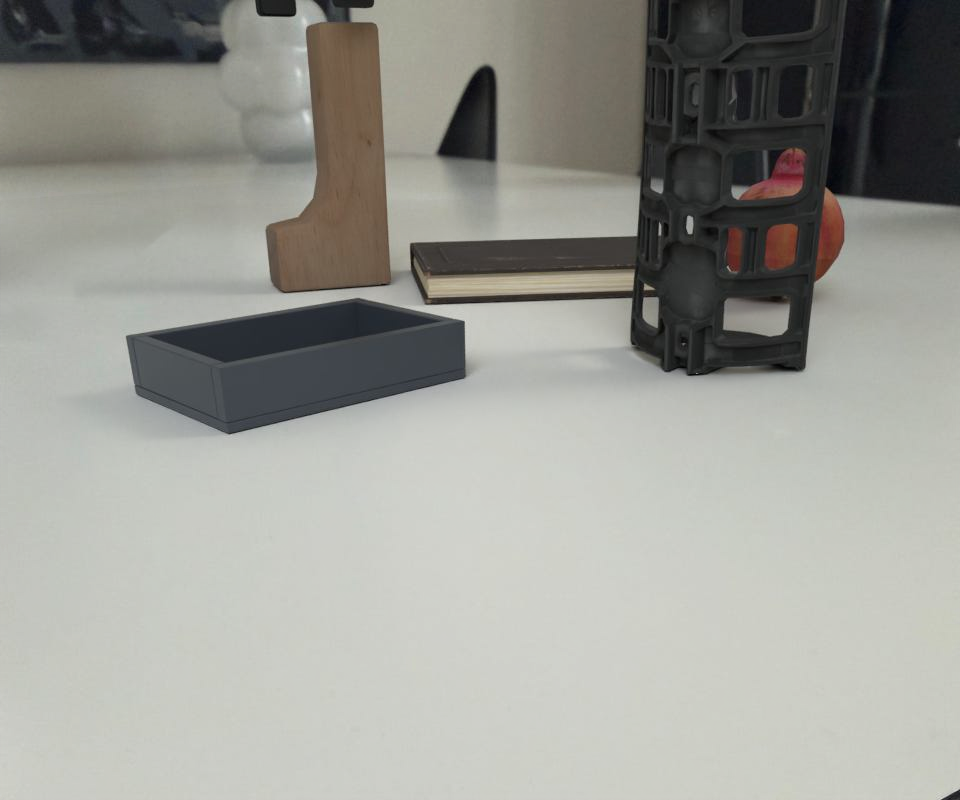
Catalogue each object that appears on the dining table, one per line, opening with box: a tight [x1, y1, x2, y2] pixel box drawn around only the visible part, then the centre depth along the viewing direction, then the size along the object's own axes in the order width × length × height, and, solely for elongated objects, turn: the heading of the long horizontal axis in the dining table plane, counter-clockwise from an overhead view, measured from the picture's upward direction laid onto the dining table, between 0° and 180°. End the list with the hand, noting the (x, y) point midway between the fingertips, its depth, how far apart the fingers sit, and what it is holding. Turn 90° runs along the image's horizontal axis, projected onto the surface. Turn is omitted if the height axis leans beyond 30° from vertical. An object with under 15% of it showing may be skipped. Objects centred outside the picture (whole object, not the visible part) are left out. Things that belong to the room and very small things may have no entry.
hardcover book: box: [409, 234, 728, 305], centre depth 81 cm, size 16×23×2 cm
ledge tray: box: [125, 297, 467, 434], centre depth 53 cm, size 10×15×3 cm, turn 132°
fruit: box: [727, 148, 845, 302], centre depth 71 cm, size 8×8×10 cm
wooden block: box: [265, 21, 392, 293], centre depth 77 cm, size 9×4×18 cm, turn 111°
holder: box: [629, 0, 848, 375], centre depth 52 cm, size 11×8×20 cm
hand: (313, 12), depth 72 cm, fingers open, 9 cm apart
